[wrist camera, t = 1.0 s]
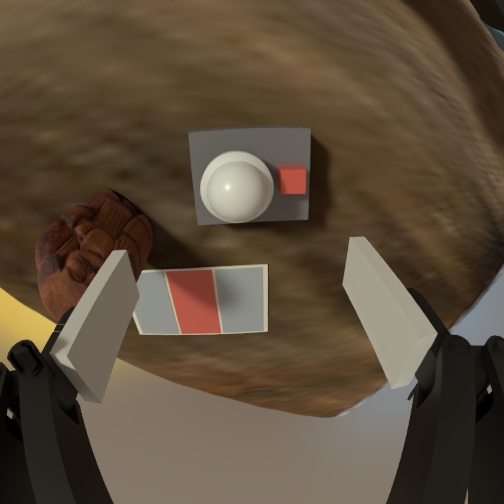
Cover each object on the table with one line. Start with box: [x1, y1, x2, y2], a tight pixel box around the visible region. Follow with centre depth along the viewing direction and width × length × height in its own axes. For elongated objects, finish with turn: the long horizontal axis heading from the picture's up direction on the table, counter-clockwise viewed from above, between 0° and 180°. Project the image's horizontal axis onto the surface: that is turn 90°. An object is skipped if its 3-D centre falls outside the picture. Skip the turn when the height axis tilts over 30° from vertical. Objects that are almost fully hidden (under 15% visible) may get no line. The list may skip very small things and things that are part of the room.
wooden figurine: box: [35, 188, 153, 322], centre depth 27 cm, size 12×6×18 cm, turn 42°
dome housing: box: [188, 125, 311, 225], centre depth 29 cm, size 12×10×7 cm
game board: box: [132, 264, 268, 335], centre depth 41 cm, size 22×13×1 cm, turn 92°
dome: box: [200, 149, 274, 223], centre depth 24 cm, size 6×6×5 cm
